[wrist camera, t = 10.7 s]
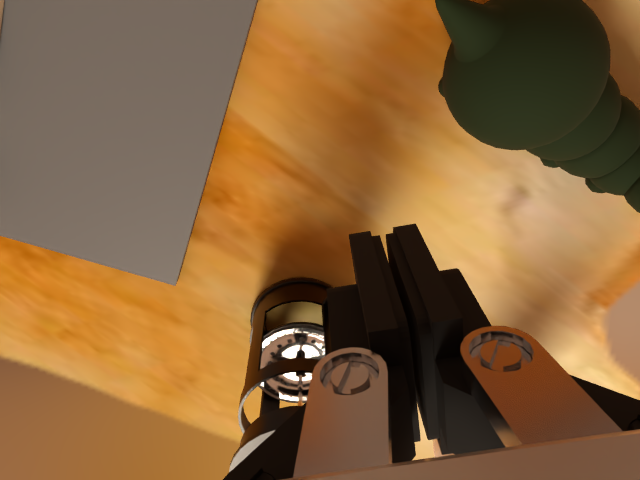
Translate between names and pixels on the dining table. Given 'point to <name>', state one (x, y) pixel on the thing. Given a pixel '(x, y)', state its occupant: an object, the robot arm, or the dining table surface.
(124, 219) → the charcoal board
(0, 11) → the beech link
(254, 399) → the dining table surface
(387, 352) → the robot arm
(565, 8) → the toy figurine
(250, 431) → the french press
